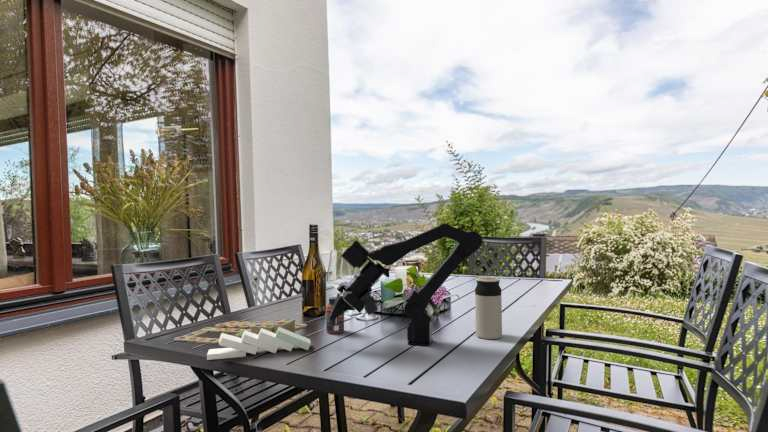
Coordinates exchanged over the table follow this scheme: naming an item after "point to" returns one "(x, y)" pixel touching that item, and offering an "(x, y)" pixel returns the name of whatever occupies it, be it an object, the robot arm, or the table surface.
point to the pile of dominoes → (254, 328)
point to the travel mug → (488, 308)
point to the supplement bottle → (337, 323)
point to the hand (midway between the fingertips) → (330, 319)
